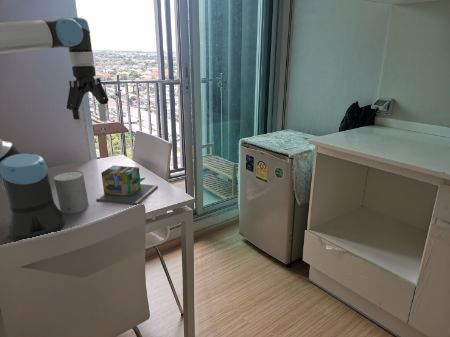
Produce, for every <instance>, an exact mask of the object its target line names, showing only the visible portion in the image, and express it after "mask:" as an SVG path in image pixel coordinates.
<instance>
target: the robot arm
mask: <svg viewBox="0 0 450 337" xmlns="http://www.w3.org/2000/svg"><path fill="white" fill-rule="evenodd" d="M56 48H68V52H69V57H70V62H71V65H73V66H72V67H71V70H72V75H73V77H74V78H75V80H69V81H68V83H69V84H68V85H69V89H68V90H69V91H68V96H67V102H66V109H67V110H69V111H71V112H72V117H73V120H74V124H75V129H80V130H81V129H85V127H84V120H83V115H82V114H83V113H82V110H81V109H80V107H81V104H82V101H83V99H84V95H86V93H91V94H92V96H93V97H94V98H95V100H96V101H97V102H98V104H97V108H98V115H99V121H101V122H108V117H107V107H106V106H107V104H108V103H109V98H108V94H107V93H106V90H105V88H104V86H103V85H102V81H101V78H100V77H96V73H97V72H96V68H95V66H94V64H95V58H94V52H93V48H92V41H91V30H90V27H89V23H88V20H87V18H85V17H82V16H81V17H80V16H66V17H62V18H61V17H60V18H59V19H56V18H55V19H46V20H43V19H42V20H41V19H39V20H22V21H5V22H0V55H4V54H11V53H12V54H13V53H20V52H28V51H36V50H37V51H39V50H45V49H56ZM48 172H49V171H48V166H47V164H46V162H45V159H44V158H43V157H42V156H40V155H38V154H35V153H32V154H30V153H22V152H21V151H20V149H19V148H18V147H16V145H14V144H13V143H12V142H11V141H7V140H5V141H4V140H2V139H1V138H0V188H2V190H4V191H5V195H6V199H7V202H8V206H9V209H10V223H9V226H8V233H9V237H10V239H12V240H14V241H15V242H17V241H16V240H22V239H27V238H32V237H36V236H40V235H44V234H48V233H51V232H56V231H58V232H59V231H60V230H62V229H63V228H64V226H65V219H64V216H63V213H62V212H61V211H60V208H59V207H58V206H57V205H56V203H55V201H54V196H53V192H52V187H51V186H52V185H51V183H50V177H49V173H48ZM56 233H57V232H56Z"/></svg>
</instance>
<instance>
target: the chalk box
mask: <svg viewBox="0 0 450 337" xmlns="http://www.w3.org/2000/svg"><path fill="white" fill-rule="evenodd" d="M144 180H146V177H141V175H140V168H139V167H138V166H137V167H136V166H122V165H121V166H120V165H112V166H110V167H108V168H107V169H105V170H103V171H102V172H101V181H102V187H103V188H102V189H103V194H107V195H120V196H132V195H133V194H134V193H136V192H137V191H138V190H139V189H140V188H141V186H140V184H141V182H143V181H144Z"/></svg>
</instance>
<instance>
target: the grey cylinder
mask: <svg viewBox="0 0 450 337" xmlns="http://www.w3.org/2000/svg"><path fill="white" fill-rule="evenodd" d="M84 176H85V175H84V172H83V171H80V170H70V171H65V172H64V171H63V172H61V173H58V174H56V175H55V176H53V181H54V185H55V190H56V191H55V192H56V195H57V200H58V205H59V211H60V213H61V214H76V213H79V212H82V211H86V210H87V209H88V208H89V206H90V204H89V199H88V192H87V187H86V181H85V177H84Z"/></svg>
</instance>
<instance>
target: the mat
mask: <svg viewBox="0 0 450 337" xmlns="http://www.w3.org/2000/svg"><path fill="white" fill-rule="evenodd" d="M140 186H141V188H140V189H139V190H138V191H137V192H136V193H134V194H133V195H132V196H120V195H107V194H104V193H103V194H101V195H100V196H98V197H97V198H96V199H95V200H96V202H105V203H106V202H107V203H114V204H124V205H132V206H133V205H134V206H137V205H136V204H138V205H139V204H141V203H142V202H143V201H144V200H145V199H146V198H148V197H149V195H151V194H152V193H153V192H154V191H156V190H157V189H158V188H159V186H158V185H157V184H145V183H140Z"/></svg>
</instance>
